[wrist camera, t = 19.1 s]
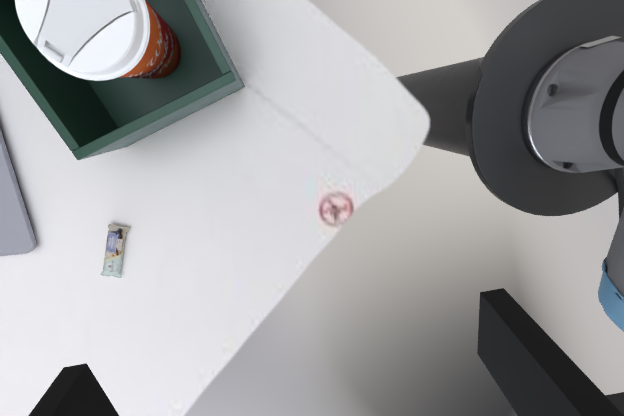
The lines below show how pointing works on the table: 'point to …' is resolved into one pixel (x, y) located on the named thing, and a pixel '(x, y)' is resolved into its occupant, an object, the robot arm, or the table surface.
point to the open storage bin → (124, 83)
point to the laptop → (12, 211)
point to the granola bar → (114, 250)
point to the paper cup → (101, 37)
